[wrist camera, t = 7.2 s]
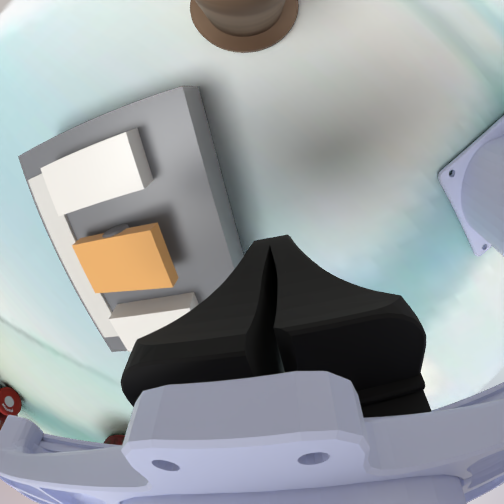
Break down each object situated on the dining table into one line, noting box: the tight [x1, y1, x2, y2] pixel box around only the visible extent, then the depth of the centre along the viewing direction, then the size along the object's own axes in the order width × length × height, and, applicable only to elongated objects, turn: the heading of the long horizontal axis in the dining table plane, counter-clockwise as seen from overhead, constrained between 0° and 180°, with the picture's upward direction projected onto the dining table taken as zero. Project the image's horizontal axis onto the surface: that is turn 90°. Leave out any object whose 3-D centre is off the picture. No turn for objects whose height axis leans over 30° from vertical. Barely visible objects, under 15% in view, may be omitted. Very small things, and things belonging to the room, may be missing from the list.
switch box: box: [18, 86, 244, 352], centre depth 17 cm, size 10×14×5 cm
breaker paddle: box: [72, 222, 179, 293], centre depth 15 cm, size 5×3×2 cm, turn 103°
